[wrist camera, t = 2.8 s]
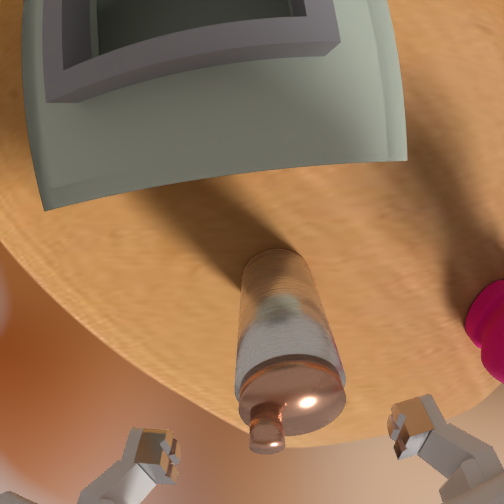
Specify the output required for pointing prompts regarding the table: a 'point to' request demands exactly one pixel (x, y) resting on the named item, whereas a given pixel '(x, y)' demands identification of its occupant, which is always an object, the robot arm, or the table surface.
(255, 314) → the canister
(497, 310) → the pepper mill
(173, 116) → the green square holder
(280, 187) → the table surface
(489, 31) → the table surface
